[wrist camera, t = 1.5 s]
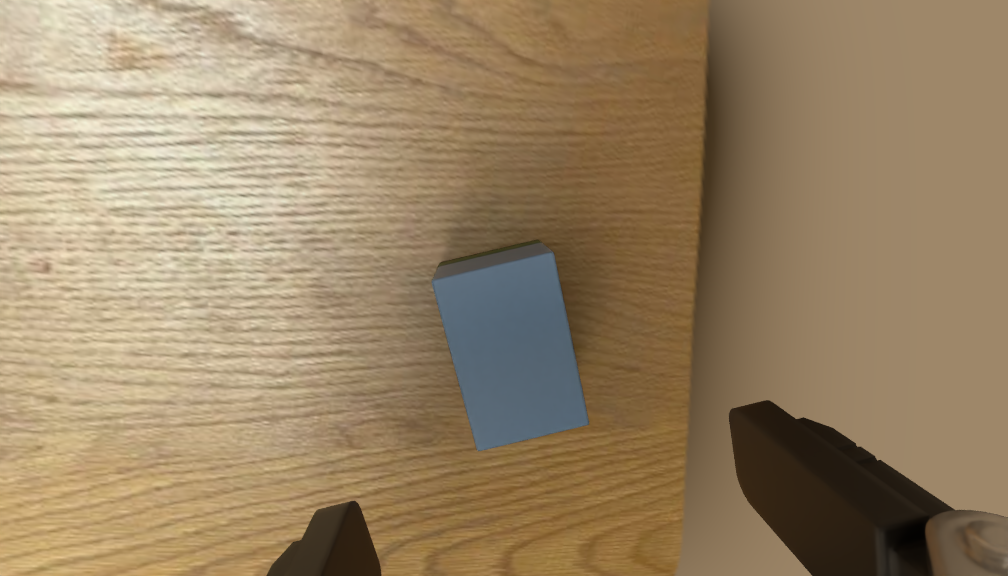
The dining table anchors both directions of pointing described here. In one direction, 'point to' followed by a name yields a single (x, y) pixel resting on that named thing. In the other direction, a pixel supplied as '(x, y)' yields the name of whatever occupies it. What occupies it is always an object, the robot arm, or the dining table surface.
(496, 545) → the dining table surface
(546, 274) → the sponge
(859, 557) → the robot arm
